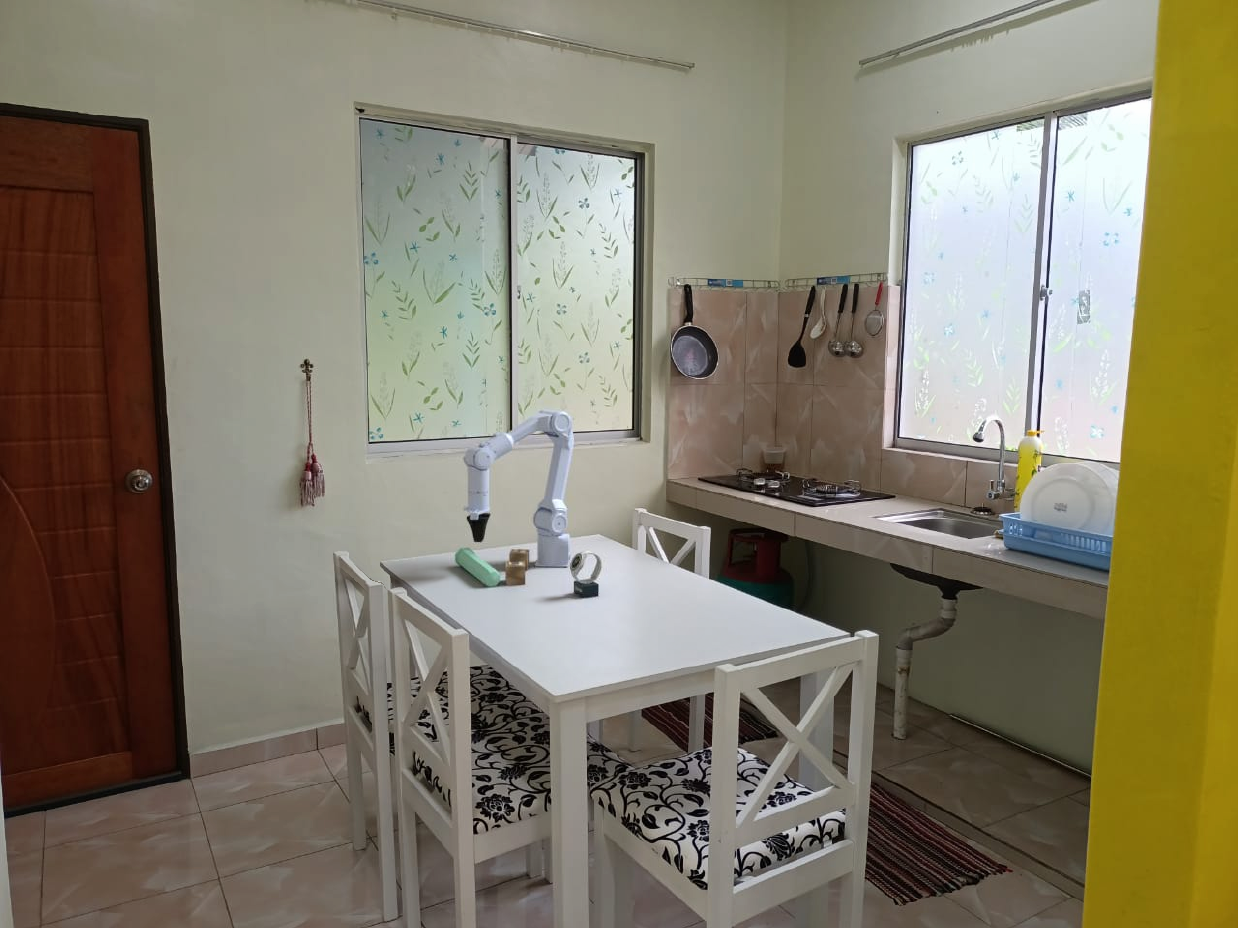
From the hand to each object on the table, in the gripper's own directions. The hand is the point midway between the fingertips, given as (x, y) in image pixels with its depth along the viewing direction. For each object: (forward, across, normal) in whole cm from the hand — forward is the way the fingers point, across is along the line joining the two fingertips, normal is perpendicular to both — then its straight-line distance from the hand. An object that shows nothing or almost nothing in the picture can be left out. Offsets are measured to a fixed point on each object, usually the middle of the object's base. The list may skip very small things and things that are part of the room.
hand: (478, 541), depth 246 cm
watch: (+10, +17, +30) cm, 36 cm away
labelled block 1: (+10, -8, +10) cm, 16 cm away
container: (+10, +1, 0) cm, 10 cm away
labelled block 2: (+10, +7, +11) cm, 16 cm away
